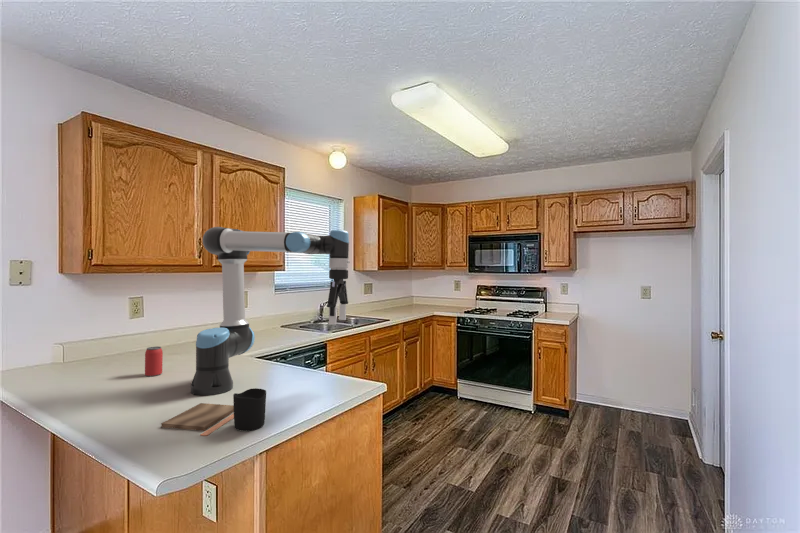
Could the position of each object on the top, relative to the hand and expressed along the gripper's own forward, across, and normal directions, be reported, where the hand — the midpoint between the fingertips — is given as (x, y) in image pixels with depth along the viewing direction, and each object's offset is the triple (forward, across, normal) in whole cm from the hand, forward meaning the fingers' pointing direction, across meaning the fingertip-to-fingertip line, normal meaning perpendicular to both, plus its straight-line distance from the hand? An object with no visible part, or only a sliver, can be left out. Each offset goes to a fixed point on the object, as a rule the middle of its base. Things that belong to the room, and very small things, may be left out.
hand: (337, 322), depth 157 cm
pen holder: (+27, -40, +15) cm, 50 cm away
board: (+27, -36, +33) cm, 56 cm away
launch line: (+27, -36, +24) cm, 51 cm away
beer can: (+28, +6, +86) cm, 90 cm away
